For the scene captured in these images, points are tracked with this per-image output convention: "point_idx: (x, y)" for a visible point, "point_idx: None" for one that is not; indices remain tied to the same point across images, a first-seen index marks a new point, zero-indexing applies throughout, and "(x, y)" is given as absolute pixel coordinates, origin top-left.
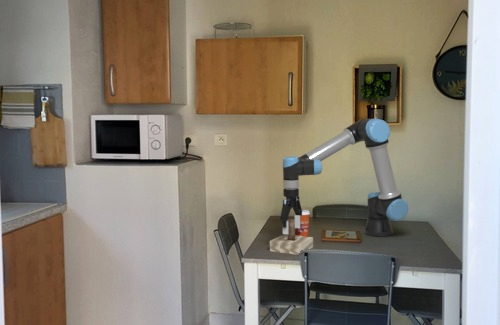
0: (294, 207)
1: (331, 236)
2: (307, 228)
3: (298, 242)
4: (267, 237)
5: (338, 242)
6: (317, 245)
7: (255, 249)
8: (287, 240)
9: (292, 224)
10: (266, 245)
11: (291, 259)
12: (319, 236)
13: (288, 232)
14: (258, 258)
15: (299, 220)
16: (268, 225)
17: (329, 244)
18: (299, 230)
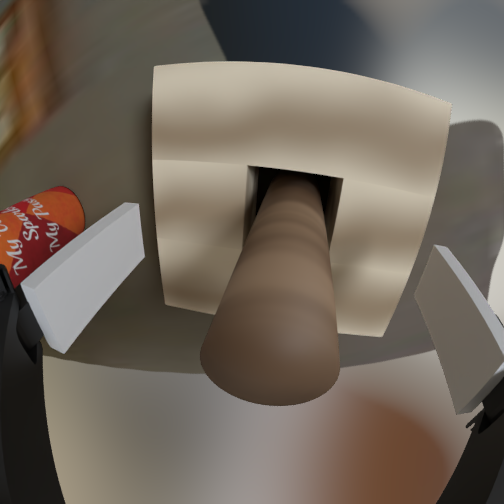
0: (42, 500)
1: (3, 113)
2: (22, 205)
3: (388, 125)
4: (139, 351)
5: (59, 22)
6: (139, 70)
7: (349, 355)
8: (345, 236)
9: (327, 285)
10: None
11: (498, 141)
12: (16, 157)
13: (439, 253)
14: (485, 297)
15: (81, 248)
16: (45, 355)
17: (100, 29)
18: (53, 241)
